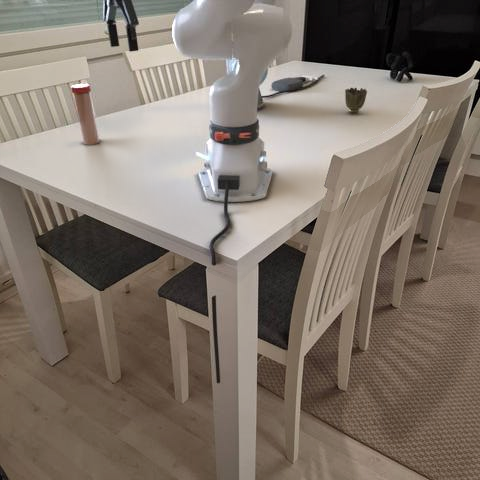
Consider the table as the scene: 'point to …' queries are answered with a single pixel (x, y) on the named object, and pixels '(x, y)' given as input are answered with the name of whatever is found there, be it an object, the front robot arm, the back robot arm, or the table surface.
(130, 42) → the back robot arm
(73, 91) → the lid
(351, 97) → the olive tapered piece
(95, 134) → the jar
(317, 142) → the table surface
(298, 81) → the spray bottle
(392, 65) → the squiggle
